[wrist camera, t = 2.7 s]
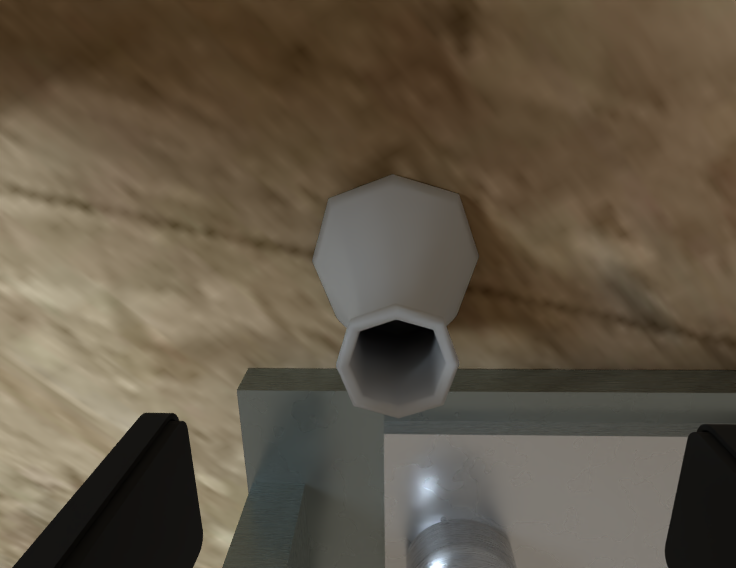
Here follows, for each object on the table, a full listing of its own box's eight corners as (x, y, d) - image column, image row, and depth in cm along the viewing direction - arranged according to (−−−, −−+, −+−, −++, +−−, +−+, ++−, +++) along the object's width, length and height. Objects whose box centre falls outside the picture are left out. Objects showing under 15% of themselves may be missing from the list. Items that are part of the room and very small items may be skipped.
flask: (480, 170, 22) (549, 225, 12) (475, 330, 24) (530, 479, 15) (306, 176, 22) (242, 234, 13) (318, 333, 24) (273, 481, 15)
